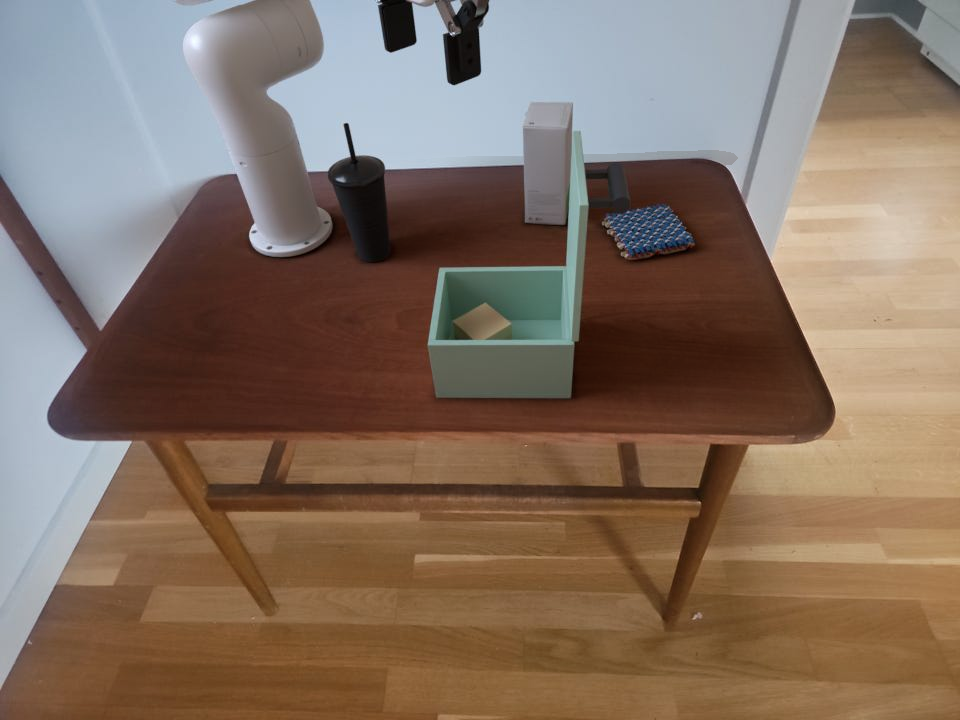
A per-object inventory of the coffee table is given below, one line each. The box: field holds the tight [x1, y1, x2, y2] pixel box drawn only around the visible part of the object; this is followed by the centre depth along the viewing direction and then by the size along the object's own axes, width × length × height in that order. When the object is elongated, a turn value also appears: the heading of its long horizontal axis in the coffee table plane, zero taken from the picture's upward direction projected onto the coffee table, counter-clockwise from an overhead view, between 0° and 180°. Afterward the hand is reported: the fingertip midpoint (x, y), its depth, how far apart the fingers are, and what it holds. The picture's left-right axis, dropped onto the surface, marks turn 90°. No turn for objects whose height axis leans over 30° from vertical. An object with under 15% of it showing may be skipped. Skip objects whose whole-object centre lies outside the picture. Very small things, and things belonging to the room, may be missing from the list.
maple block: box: [453, 303, 512, 340], centre depth 77 cm, size 5×5×5 cm
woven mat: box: [601, 203, 696, 261], centre depth 93 cm, size 10×11×2 cm
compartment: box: [427, 265, 575, 399], centre depth 76 cm, size 16×13×9 cm
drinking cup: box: [327, 122, 391, 264], centre depth 88 cm, size 8×8×20 cm
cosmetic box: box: [522, 101, 574, 226], centre depth 95 cm, size 8×7×16 cm
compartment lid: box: [565, 130, 632, 342], centre depth 66 cm, size 17×13×5 cm
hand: (431, 62), depth 57 cm, fingers open, 9 cm apart
